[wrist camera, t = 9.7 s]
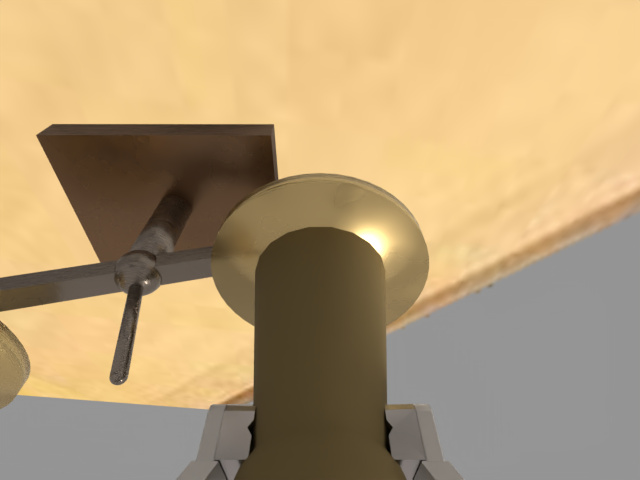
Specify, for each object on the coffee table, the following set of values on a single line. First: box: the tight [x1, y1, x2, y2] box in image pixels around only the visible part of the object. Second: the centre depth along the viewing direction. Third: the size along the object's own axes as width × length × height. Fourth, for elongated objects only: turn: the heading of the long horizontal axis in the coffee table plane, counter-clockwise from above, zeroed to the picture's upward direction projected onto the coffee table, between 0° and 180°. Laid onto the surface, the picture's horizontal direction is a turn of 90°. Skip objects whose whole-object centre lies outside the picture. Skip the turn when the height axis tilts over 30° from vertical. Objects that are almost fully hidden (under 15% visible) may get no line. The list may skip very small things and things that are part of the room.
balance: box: [0, 124, 429, 409], centre depth 18 cm, size 27×10×12 cm, turn 90°
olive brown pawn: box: [234, 227, 407, 480], centre depth 13 cm, size 6×6×11 cm
